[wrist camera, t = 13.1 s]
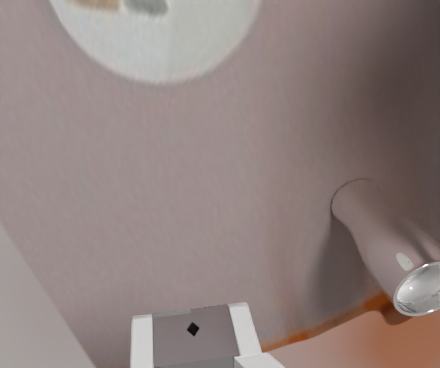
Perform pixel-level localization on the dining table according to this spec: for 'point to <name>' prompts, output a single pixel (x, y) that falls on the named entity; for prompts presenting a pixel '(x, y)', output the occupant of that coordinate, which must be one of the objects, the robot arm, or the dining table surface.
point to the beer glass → (391, 248)
